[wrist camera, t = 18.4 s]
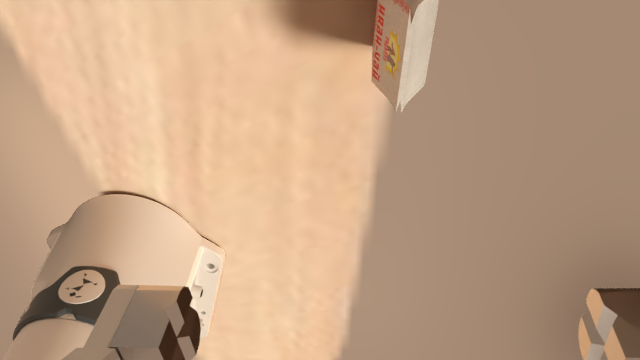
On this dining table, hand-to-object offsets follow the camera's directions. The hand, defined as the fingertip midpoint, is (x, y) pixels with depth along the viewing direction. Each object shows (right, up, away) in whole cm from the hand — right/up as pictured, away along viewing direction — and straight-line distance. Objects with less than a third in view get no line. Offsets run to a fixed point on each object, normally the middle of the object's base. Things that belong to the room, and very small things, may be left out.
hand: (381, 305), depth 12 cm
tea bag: (+5, +16, +30) cm, 34 cm away
